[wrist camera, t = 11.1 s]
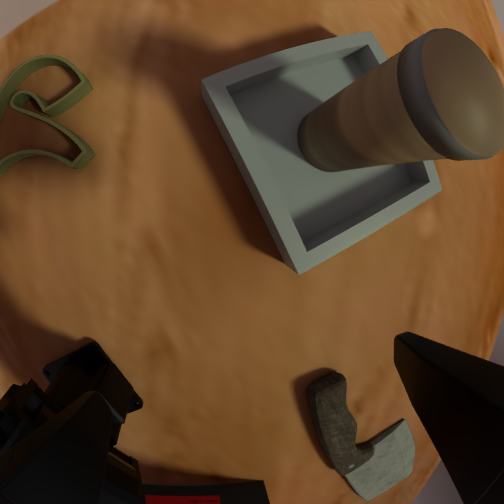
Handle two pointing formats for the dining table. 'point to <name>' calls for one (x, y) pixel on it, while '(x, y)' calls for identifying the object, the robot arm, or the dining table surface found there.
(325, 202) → the box
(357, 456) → the cleaver
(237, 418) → the dining table surface
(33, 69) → the cookie cutter
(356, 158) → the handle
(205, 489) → the cleaning product box
